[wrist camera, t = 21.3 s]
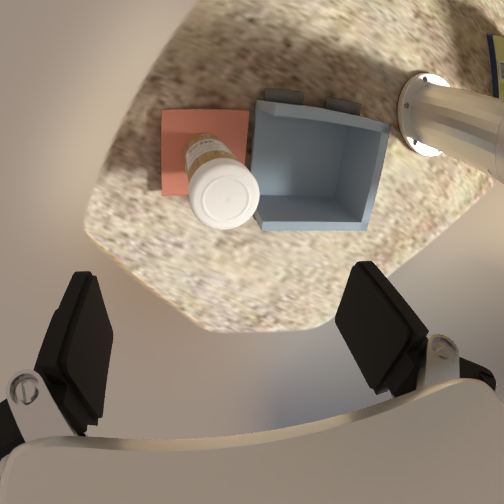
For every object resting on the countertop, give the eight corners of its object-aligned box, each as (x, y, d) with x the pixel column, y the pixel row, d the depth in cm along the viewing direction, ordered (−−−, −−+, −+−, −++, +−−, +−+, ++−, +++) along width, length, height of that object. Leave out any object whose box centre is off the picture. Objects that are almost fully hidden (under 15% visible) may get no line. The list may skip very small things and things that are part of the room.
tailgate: (249, 111, 27) (161, 110, 25) (242, 193, 32) (162, 196, 30) (246, 110, 28) (162, 109, 26) (240, 190, 33) (162, 192, 31)
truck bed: (353, 103, 30) (393, 111, 23) (333, 211, 38) (363, 241, 31) (257, 87, 27) (277, 87, 21) (245, 210, 35) (260, 243, 29)
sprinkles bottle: (186, 176, 30) (195, 237, 19) (180, 136, 27) (184, 171, 16) (228, 169, 30) (263, 225, 20) (224, 129, 28) (259, 160, 17)
